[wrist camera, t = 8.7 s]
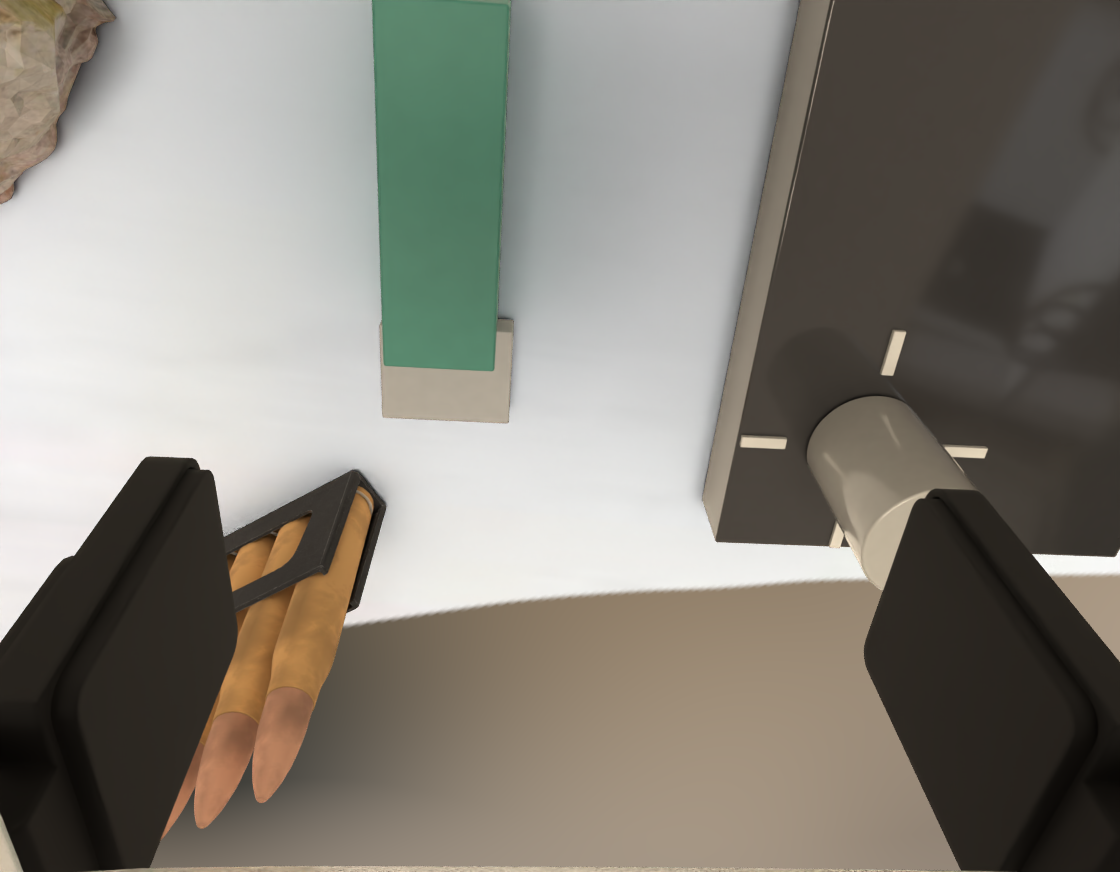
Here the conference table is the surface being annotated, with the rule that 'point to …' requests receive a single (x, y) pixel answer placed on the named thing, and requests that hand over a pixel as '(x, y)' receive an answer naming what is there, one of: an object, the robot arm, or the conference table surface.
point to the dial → (878, 474)
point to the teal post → (442, 207)
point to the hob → (937, 264)
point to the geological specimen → (39, 75)
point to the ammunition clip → (282, 636)
